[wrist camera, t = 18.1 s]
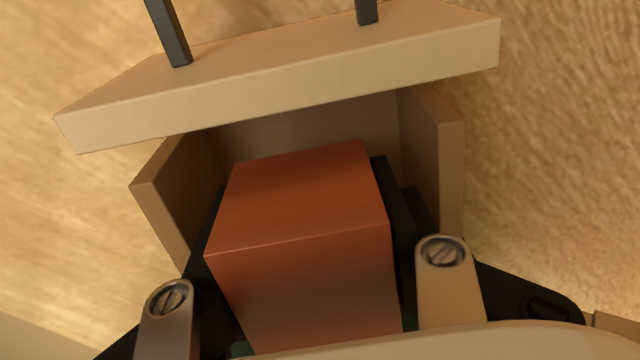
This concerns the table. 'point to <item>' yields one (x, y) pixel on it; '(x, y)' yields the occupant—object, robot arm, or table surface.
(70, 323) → the table surface
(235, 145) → the drawer
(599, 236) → the table surface
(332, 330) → the block
